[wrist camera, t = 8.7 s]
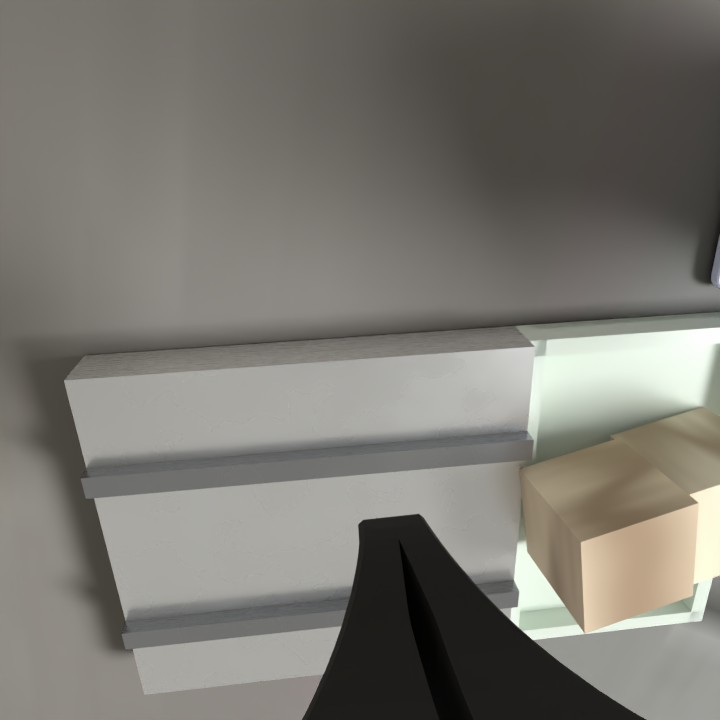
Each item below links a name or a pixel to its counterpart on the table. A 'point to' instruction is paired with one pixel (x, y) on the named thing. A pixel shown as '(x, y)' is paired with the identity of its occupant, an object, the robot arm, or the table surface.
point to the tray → (610, 423)
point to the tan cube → (609, 533)
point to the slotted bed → (293, 485)
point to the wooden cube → (688, 472)
